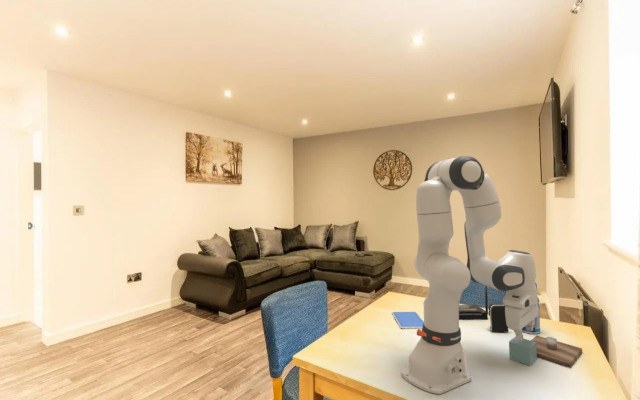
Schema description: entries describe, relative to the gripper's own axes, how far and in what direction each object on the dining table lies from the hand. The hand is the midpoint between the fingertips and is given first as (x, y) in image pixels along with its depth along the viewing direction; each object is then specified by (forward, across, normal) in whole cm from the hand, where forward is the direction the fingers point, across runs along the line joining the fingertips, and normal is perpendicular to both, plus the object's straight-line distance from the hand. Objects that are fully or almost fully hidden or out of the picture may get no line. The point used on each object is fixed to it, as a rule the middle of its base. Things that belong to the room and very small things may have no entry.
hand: (524, 334), depth 105 cm
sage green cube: (+8, +1, -1) cm, 8 cm away
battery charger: (+9, -17, -16) cm, 25 cm away
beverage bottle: (+9, -27, -8) cm, 30 cm away
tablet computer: (+8, +2, -48) cm, 48 cm away
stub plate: (+9, -12, +4) cm, 15 cm away
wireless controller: (+9, -25, -32) cm, 41 cm away
